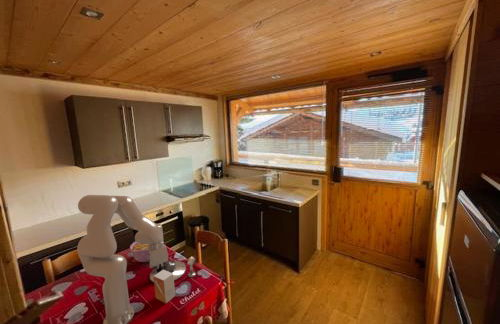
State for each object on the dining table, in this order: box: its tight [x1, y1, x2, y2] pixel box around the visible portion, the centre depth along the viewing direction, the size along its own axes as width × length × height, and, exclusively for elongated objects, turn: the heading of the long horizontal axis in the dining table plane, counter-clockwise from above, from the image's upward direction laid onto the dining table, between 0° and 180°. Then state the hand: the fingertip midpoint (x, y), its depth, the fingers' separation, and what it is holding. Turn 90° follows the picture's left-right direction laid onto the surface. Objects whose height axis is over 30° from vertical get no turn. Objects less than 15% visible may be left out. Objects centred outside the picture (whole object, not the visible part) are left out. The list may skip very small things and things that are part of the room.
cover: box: [163, 259, 176, 273], centre depth 134 cm, size 7×7×5 cm
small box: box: [153, 270, 176, 304], centre depth 113 cm, size 8×6×13 cm
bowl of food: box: [129, 241, 150, 263], centre depth 151 cm, size 20×20×12 cm
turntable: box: [149, 260, 187, 283], centre depth 134 cm, size 21×21×6 cm
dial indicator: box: [187, 256, 197, 278], centre depth 131 cm, size 4×4×12 cm
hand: (159, 273), depth 131 cm, fingers closed
